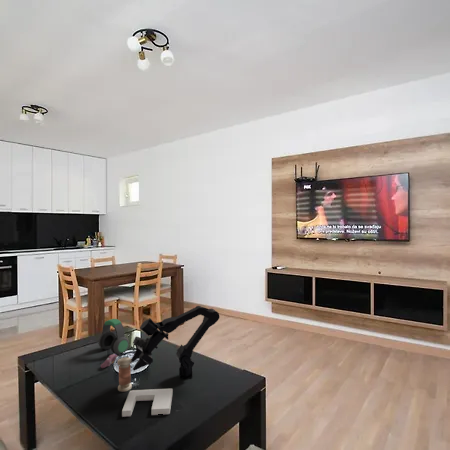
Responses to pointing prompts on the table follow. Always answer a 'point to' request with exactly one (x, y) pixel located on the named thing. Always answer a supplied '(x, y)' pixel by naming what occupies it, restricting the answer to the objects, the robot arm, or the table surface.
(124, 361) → the bobbin
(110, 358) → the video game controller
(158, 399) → the notched board
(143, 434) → the table surface
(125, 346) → the headphones
